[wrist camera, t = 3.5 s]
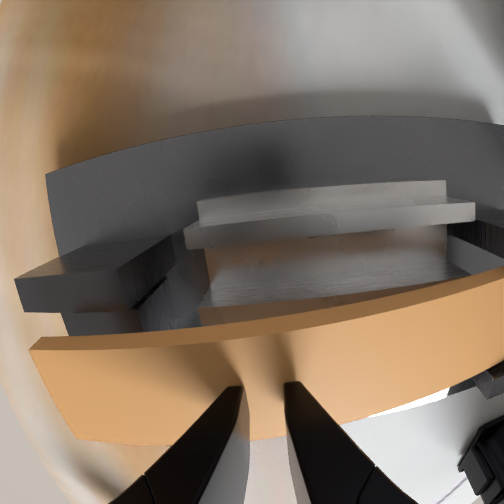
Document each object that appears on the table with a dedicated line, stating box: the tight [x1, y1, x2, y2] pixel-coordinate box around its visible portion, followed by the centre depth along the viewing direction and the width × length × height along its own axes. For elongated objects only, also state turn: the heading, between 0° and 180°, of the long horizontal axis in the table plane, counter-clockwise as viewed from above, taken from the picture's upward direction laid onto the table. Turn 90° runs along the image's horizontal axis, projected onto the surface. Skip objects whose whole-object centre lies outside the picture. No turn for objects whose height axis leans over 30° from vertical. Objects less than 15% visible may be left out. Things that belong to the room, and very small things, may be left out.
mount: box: [14, 116, 504, 446], centre depth 10 cm, size 22×14×6 cm, turn 97°
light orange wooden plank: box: [29, 266, 504, 445], centre depth 7 cm, size 17×4×2 cm, turn 97°
